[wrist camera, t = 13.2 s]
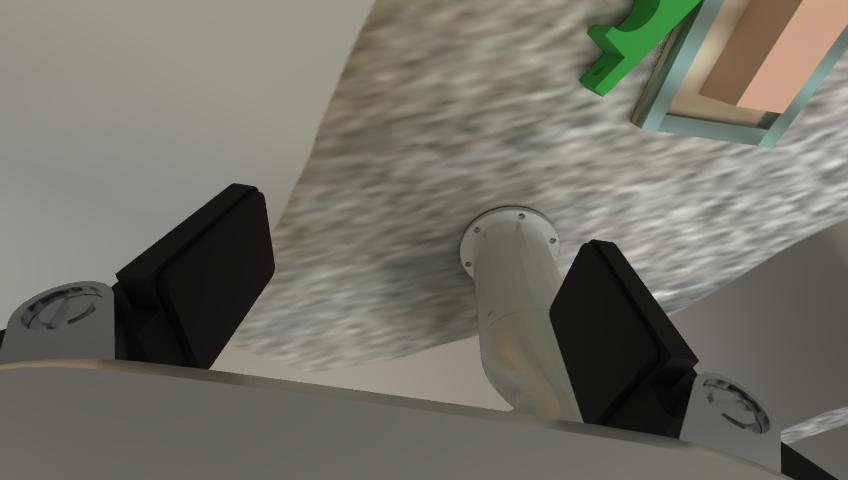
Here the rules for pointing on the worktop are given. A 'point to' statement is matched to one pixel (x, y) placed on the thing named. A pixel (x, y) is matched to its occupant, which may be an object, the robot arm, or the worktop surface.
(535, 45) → the worktop surface
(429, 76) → the worktop surface
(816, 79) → the nest board
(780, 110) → the salmon pink rectangular block
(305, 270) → the worktop surface
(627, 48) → the pipe clamp
